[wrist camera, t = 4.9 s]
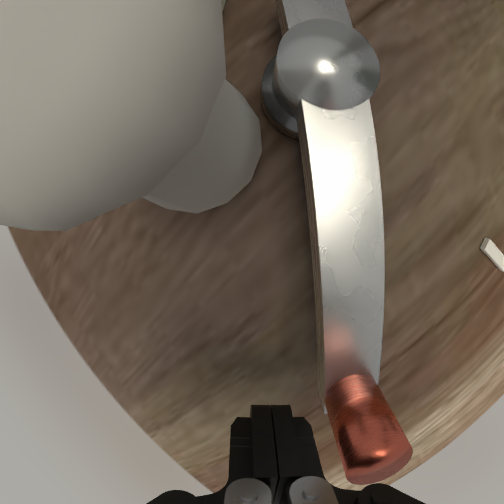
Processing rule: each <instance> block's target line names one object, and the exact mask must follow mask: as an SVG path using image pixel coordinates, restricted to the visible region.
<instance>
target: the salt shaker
mask: <svg viewBox="0 0 504 504" xmlns="http://www.w3.org/2000/svg"><path fill="white" fill-rule="evenodd" d="M225 78H226V64H225V49H224V33H223V17H222V6H221V0H0V225H5V226H11V227H17V228H22V229H28V230H58V231H66V230H69V229H71V228H73V227H76V226H78V225H80V224H83V223H85V222H87V221H90V220H92V219H94V218H96V217H98V216H101V215H103V214H105V213H107V212H109V211H112V210H114V209H116V208H118V207H121V206H123V205H125V204H127V203H130V202H132V201H134V200H137V199H139V198H144V199H146V200H148V201H150V202H152V203H155V204H157V205H159V206H161V207H164V208H166V209H168V210H176V211H183V212H190V213H197V214H198V213H200V212H203V211H206V210H209V209H212V208H214V207H217V206H220V205H223V204H226V203H228V202H229V201H230V200H231V199H232V198H233V197H234V196H235V195H237V194H238V193H239V192H240V191H241V190H242V189H243V188H244V187H245V186H246V185H247V184H248V183H249V182H250V181H251V180H252V177H253V174H254V172H255V169H256V166H257V164H258V161H259V159H260V156H261V153H262V142H261V131H260V121H259V119H258V117H257V116H256V114H255V113H254V111H253V110H252V108H251V107H250V105H249V104H248V102H247V100H246V99H245V97H244V96H243V95H242V94H241V93H240V92H239V91H238V90H237V89H236V88H235V87H234V86H232V85H231V84H230V83H229V82H228V81H227V80H226V79H225Z"/></svg>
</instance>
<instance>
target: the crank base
mask: <svg viewBox="0 0 504 504" xmlns="http://www.w3.org/2000/svg"><path fill="white" fill-rule="evenodd" d="M276 57H277V55H276V56H275V57H274V58H273V59H272V60H271V61H270V62H269V64H268V65H267V67H266V69H265V72H264V75H263V80H262V88H261V104H262V108H263V111H264V113H265V115H266V117H267V119H268V120H269V122H270V123H271V124H272V125H273V126H274V127H275V128H276V129H277V130H278V131H280V132H281V133H283V134H284V135H286V136H289V137H291V138H294V139H298V140H299V135H298V128H297V121H296V119H295V118H293V117H292V116H290V115H289V114H288V113H286V112H285V111H284V110H283V109H282V108H281V106H280V105H279V104H278V102H277V100H276V98H275V96H274V93H273V89H272V77H273V72H274V67H275V62H276Z"/></svg>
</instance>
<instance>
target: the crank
mask: <svg viewBox="0 0 504 504" xmlns="http://www.w3.org/2000/svg"><path fill="white" fill-rule="evenodd" d="M275 4H276V8H277V13H278V18H279V23H280V28H281V33H282V39H281V41H280V44H279V47H278V52H277V57H276V62H275V67H274V72H273V77H272V89H273V93H274V96H275V98H276V100H277V102H278V104H279V105H280V106H281V108H282V109H283V110H284V111H285V112H286V113H288V114H289V115H290V116H292V117H293V118H295V119H296V121H297V128H298V135H299V142H300V150H301V157H302V165H303V174H304V182H305V191H306V200H307V210H308V220H309V230H310V242H311V254H312V266H313V280H314V296H315V313H316V334H317V362H318V394H319V397H320V401H321V404H322V408H323V411H324V414H327V413H328V416H329V420H330V423H331V427H332V430H333V433H334V437H335V440H336V443H337V447H338V450H339V454H340V457H341V461H342V464H343V468H344V471H345V475H346V478H347V480H348V481H349V482H351V483H353V484H359V485H364V484H371V483H375V482H379V481H381V480H384V479H386V478H388V477H390V476H392V475H394V474H395V473H397V472H398V471H399V470H401V469H402V468H403V467H404V466H405V465H406V464H407V463H408V461H409V460H410V458H411V456H412V453H413V450H412V447H411V445H410V443H409V442H408V440H407V438H406V436H405V434H404V432H403V430H402V428H401V427H400V425H399V423H398V421H397V419H396V417H395V416H394V414H393V412H392V410H391V408H390V407H389V405H388V403H387V401H386V399H385V398H384V396H383V394H382V392H381V390H380V389H379V387H378V380H379V370H380V360H381V349H382V335H383V317H384V281H385V262H384V226H383V208H382V194H381V182H380V172H379V163H378V154H377V146H376V138H375V131H374V125H373V118H372V112H371V106H370V101H369V98H370V97H371V96H372V95H373V93H374V92H375V90H376V88H377V86H378V83H379V79H380V65H379V61H378V58H377V55H376V53H375V51H374V49H373V47H372V46H371V45H370V43H369V42H368V41H367V40H366V39H365V38H364V36H362V35H361V34H360V33H359V32H358V31H356V30H355V29H353V26H352V23H351V19H350V16H349V13H348V9H347V6H346V3H345V0H275Z"/></svg>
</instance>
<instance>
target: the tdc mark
mask: <svg viewBox="0 0 504 504" xmlns="http://www.w3.org/2000/svg"><path fill="white" fill-rule="evenodd" d="M480 249H481V250H482V251H483V252H484V253H485V254H486V255H487V256H488V257H489V258H490V260H491V261H492V262H493V263H494V264H495V265H496V266H497V267H498V269H499V270H501V271H503V272H504V255H503V254H502V253H501V251H500V250H499V249H498V248H497V247H496V246H495V244H494V243H493V242H492V241H491V240H490V239H488V238H485V239H484V241H483V243H482V245H481V247H480Z"/></svg>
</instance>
